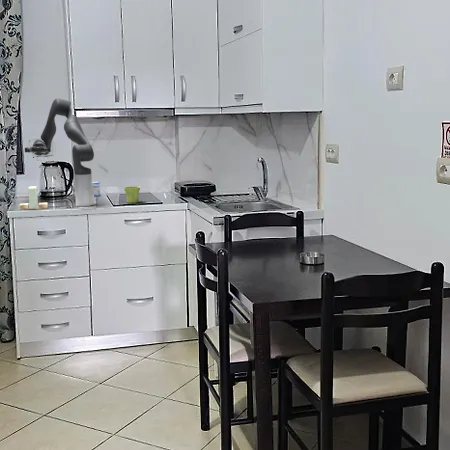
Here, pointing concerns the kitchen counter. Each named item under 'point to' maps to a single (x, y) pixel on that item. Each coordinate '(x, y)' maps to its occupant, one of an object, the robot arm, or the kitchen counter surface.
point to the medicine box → (96, 188)
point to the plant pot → (132, 194)
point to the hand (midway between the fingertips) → (36, 150)
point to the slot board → (40, 206)
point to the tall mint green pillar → (33, 197)
